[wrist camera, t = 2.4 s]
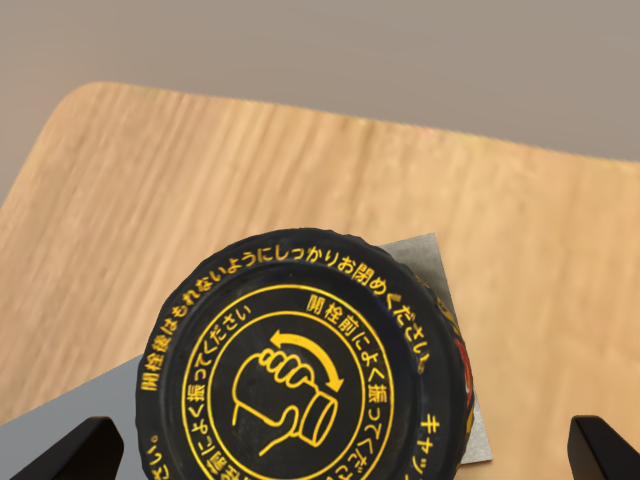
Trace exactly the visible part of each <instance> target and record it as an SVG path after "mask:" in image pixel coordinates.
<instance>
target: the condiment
mask: <svg viewBox="0 0 640 480" xmlns="http://www.w3.org/2000/svg"><path fill="white" fill-rule="evenodd" d="M135 401H136V416H135V426H136V428H137V434H138V449H139V453H140V456H141V463H142V469H143V471H144V473H145V475H146V477H147V478H148V480H453V479H454V477H455V474H456V472H457V470H458V468H459V466H460V464H465V463H472V462H478V461H485V460H491V459H493V456H492V452H491V449H490V445H489V441H488V437H487V434H486V430H485V426H484V422H483V418H482V415H481V411H480V407H479V404H478V400H477V396H476V392H475V388H474V384H473V376H472V372H471V367H470V361H469V358H468V354H467V351H466V346H465V342H464V340H463V339H462V336H461V333H460V330H459V326H458V322H457V318H456V314H455V311H454V307H453V303H452V299H451V295H450V291H449V288H448V284H447V280H446V276H445V273H444V269H443V265H442V261H441V256H440V252H439V249H438V245H437V241H436V238H435V234H434V233H430V234H426V235H422V236H417V237H414V238H411V239H407V240H402V241H398V242H394V243H390V244H385V245H381V246H373V245H370V244H368V243H367V242H365V241H364V240H363V239H362V238H361V237H357V236H353V235H350V234H348V235H341V234H338V233H336V232H334V231H332V230H322V229H317V228H299V229H283V230H276V231H272V232H268V233H264V234H260V235H254V236H251V237H248V238H245V239H243V240H240V241H238V242H235V243H233V244H231V245H228V246H227V247H225V248H224V249H223V250H221V251H219V252H217V253H214V254H213V255H212V256H210V257H209V258H207V259H205V260H204V261H202V262H201V263H200V264H199V265H198V266H197V268H196V269H195V270H194V271H193V272H192V273H191V274H190V275H189V276H188V277H187V278H186V279H185V280H184V281H183V282H182V283H181V284H180V285H179V286H178V288H177V289H176V290H174V291H173V292H172V293H171V295H170V296H169V297H168V298H167V300H166V301H165V303H164V304H163V306H162V308H161V310H160V313H159V316H158V318H157V321H156V324H155V326H154V328H153V330H152V333H151V335H150V337H149V340H148V343H147V346H146V349H145V352H144V355H143V357H142V358H141V360H140V362H139V364H138V370H137V382H136V391H135Z"/></svg>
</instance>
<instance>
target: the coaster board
mask: <svg viewBox="0 0 640 480" xmlns="http://www.w3.org/2000/svg"><path fill="white" fill-rule="evenodd" d="M143 355H144V353H143V354H141V355H139V356H137V357H135V358H133V359H132V360H130V361H128V362H126V363H124V364H122V365H120V366H118V367H116V368H114V369H112V370H110V371H108V372H106V373H104V374H102V375H100V376H98V377H96V378H94V379H92V380H90V381H88V382H86V383H84V384H83V385H81V386H79V387H77V388H75V389H73V390H71V391H69V392H67V393H65V394H63V395H61V396H59V397H57V398H55V399H53V400H51V401H49V402H47V403H45V404H43V405H41V406H39V407H37V408H35V409H33V410H32V411H30V412H28V413H26V414H24V415H22V416H20V417H18V418H16V419H14V420H12V421H10V422H8V423H6V424H4V425H2V426H0V480H9V479H10V478H12V477H13V476H14V475H15V474H17V473H18V472H19V471H21V470H22V469H23V468H24V467H26V466H27V465H28V464H30V463H31V462H32V461H33V460H35V459H36V458H37V457H38V456H40V455H41V454H42V453H44V452H45V451H46V450H47V449H49V448H50V447H51V446H52V445H54V444H55V443H56V442H58V441H59V440H60V439H61V438H63V437H64V436H65V435H67V434H68V433H69V432H70V431H72V430H73V429H74V428H75V427H77V426H78V425H79V424H81V423H82V422H83V421H84V420H86V419H87V418H89V417H92V416H108V417H110V418H111V419H112V420H113V422H114V424H115V425H116V427H117V429H118V431H119V433H120V435H121V437H122V439H123V441H124V453H123V457H122V460H121V463H120V466H119V469H118V472H117V475H116V479H115V480H148V478H147V477H146V475H145V473H144V471H143V469H142V463H141V456H140V453H139V449H138V434H137V428H136V426H135V416H136V401H135V391H136V382H137V370H138V364H139V362H140V360H141V358H142V357H143Z"/></svg>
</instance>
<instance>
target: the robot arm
mask: <svg viewBox="0 0 640 480" xmlns="http://www.w3.org/2000/svg"><path fill="white" fill-rule="evenodd" d="M567 451H568V458H569V462H570V466H571V470H572V474H573V478H574V480H640V454H639V453H638V452H637V451H636V450H635V449H634V448H633V447H632V446H631V445H630V444H629V443H628V442H627V441H625V440H624V439H623V438H622V437H621V436H620V435H619V434H618V433H617V432H616V431H615V430H614V429H613V428H612V427H611V426H609V425H608V424H607V423H606V422H605V421H604V420H603V419H602V418H600V417H598V416H595V415H576V416H574V417H573V418H572V420H571V424H570V431H569V438H568V444H567ZM123 453H124V441H123V439H122V437H121V435H120V433H119V431H118V429H117V427H116V425H115V424H114V422H113V420H112V419H111V418H110V417H108V416H92V417H89V418H87V419H86V420H84V421H83V422H82V423H81V424H79V425H78V426H77V427H75V428H74V429H73V430H72V431H70V432H69V433H68V434H67V435H65V436H64V437H63V438H61V439H60V440H59V441H58V442H56V443H55V444H54V445H52V446H51V447H50V448H49V449H47V450H46V451H45V452H44V453H42V454H41V455H40V456H38V457H37V458H36V459H35V460H33V461H32V462H31V463H30V464H28V465H27V466H26V467H24V468H23V469H22V470H21V471H19V472H18V473H17V474H15V475H14V476H13V477H12V478H10V479H9V480H115V479H116V475H117V472H118V469H119V466H120V463H121V460H122V457H123Z"/></svg>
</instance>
